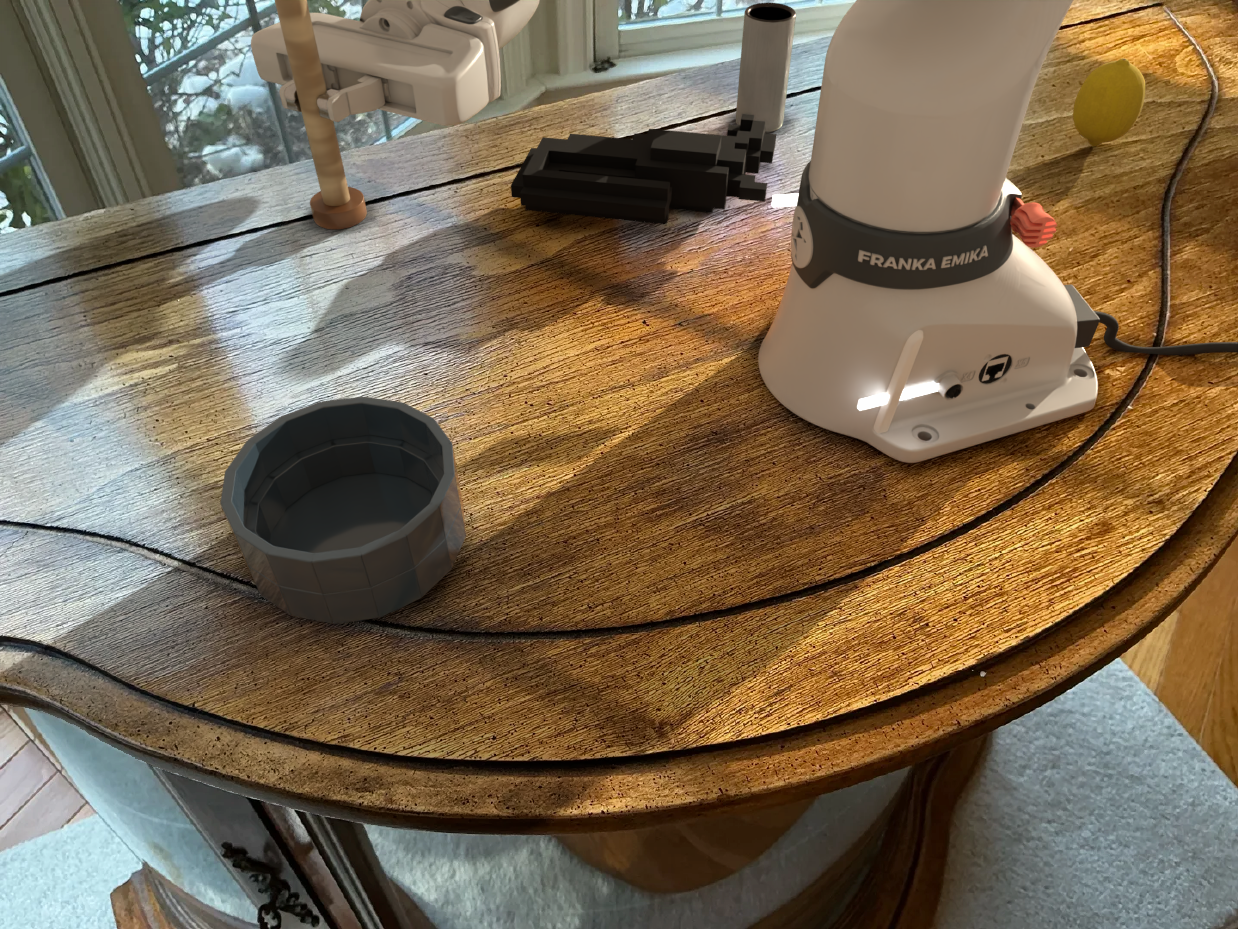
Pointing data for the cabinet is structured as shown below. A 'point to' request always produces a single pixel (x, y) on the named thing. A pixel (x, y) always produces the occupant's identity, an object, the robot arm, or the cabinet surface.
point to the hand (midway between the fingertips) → (306, 105)
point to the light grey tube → (765, 63)
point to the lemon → (1109, 102)
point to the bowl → (346, 508)
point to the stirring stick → (318, 122)
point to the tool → (645, 172)
